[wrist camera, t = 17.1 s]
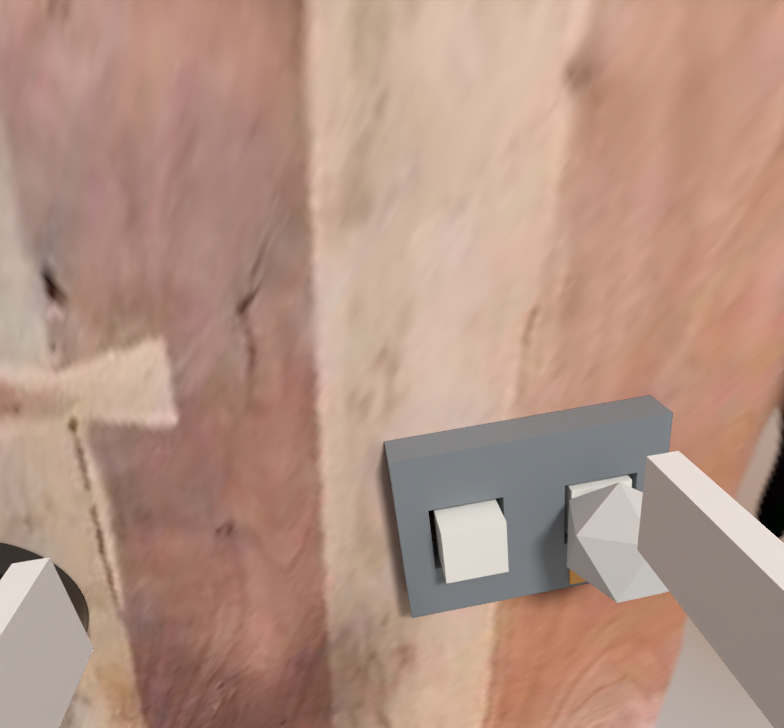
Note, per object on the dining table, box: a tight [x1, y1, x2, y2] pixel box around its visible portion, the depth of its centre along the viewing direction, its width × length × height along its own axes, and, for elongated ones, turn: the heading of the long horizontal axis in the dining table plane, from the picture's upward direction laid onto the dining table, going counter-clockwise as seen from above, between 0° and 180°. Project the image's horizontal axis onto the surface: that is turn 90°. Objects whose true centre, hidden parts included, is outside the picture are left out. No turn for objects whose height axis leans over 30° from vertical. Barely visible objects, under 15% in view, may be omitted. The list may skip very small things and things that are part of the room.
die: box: [567, 482, 669, 603], centre depth 40 cm, size 8×9×10 cm
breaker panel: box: [384, 395, 673, 618], centre depth 45 cm, size 22×16×3 cm
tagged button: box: [564, 474, 632, 534], centre depth 45 cm, size 5×5×3 cm
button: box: [433, 499, 509, 584], centre depth 42 cm, size 5×5×3 cm
